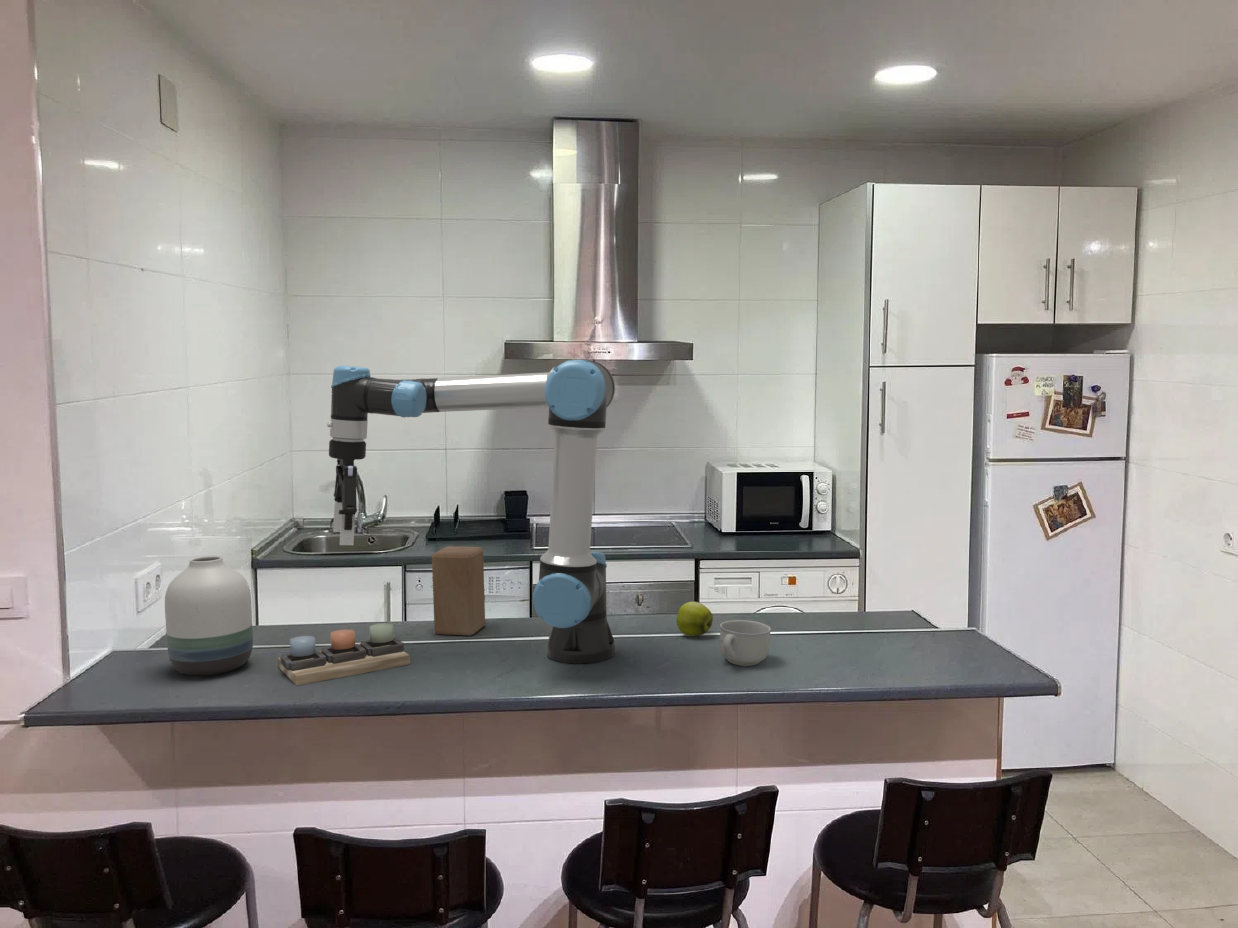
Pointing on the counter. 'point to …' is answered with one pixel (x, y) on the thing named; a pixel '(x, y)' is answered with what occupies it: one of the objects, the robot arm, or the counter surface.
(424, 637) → the counter surface
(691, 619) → the apple
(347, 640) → the terracotta button
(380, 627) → the sage button
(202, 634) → the vase
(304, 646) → the slate button
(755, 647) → the teacup
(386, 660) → the button panel
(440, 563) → the block
